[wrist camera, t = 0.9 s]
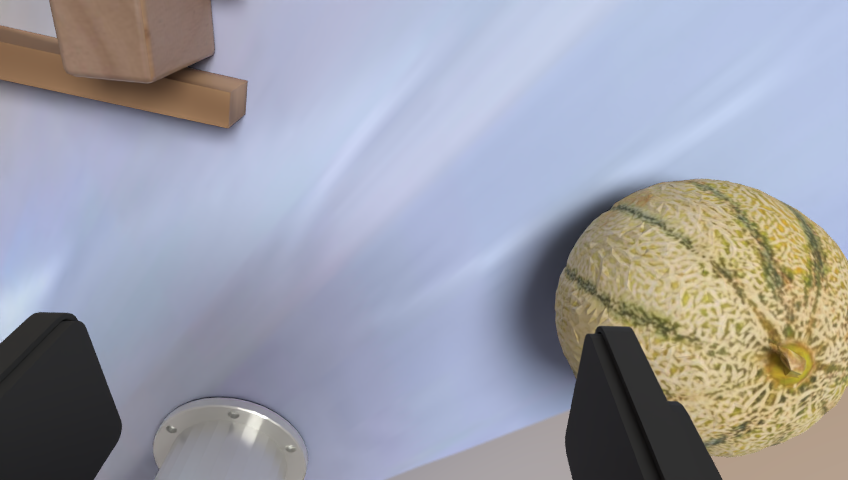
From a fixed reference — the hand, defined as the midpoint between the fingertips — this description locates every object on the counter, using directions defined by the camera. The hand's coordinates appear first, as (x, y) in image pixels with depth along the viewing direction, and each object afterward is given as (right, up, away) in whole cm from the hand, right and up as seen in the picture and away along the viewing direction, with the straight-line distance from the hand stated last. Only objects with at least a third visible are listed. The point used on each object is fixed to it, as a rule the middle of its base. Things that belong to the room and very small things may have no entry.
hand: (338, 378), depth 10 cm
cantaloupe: (+17, +2, +26) cm, 31 cm away
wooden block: (-12, +15, +20) cm, 28 cm away
